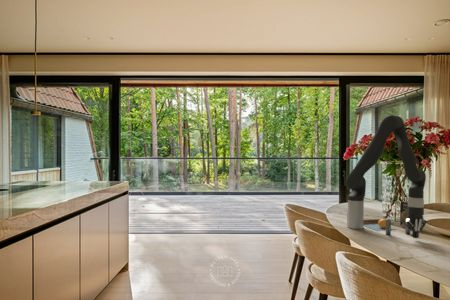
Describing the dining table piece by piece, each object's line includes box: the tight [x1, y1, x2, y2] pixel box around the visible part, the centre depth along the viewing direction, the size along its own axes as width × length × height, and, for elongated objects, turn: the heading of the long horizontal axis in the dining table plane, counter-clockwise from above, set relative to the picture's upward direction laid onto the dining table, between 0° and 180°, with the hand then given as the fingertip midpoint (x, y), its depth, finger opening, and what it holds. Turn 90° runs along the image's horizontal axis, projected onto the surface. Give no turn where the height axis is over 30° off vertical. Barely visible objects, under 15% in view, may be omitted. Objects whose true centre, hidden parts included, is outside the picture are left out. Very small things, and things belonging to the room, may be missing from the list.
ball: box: [377, 218, 387, 229], centre depth 203 cm, size 6×6×6 cm
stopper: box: [363, 218, 381, 225], centre depth 216 cm, size 2×18×2 cm, turn 102°
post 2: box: [404, 218, 412, 235], centre depth 190 cm, size 3×3×9 cm
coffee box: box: [399, 200, 409, 228], centre depth 206 cm, size 9×6×16 cm
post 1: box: [385, 218, 392, 236], centre depth 188 cm, size 3×3×9 cm
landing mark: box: [363, 223, 397, 232], centre depth 206 cm, size 14×14×1 cm
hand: (415, 237), depth 176 cm, fingers closed
